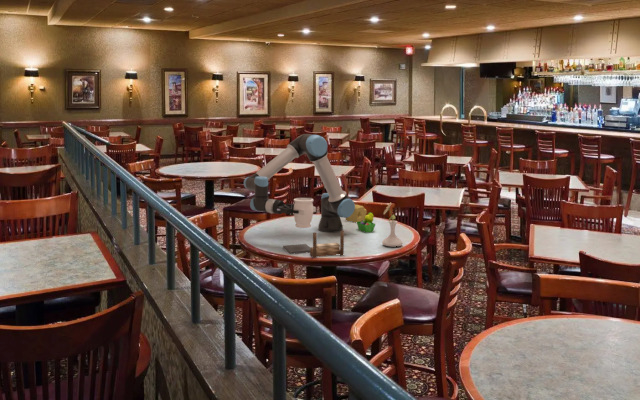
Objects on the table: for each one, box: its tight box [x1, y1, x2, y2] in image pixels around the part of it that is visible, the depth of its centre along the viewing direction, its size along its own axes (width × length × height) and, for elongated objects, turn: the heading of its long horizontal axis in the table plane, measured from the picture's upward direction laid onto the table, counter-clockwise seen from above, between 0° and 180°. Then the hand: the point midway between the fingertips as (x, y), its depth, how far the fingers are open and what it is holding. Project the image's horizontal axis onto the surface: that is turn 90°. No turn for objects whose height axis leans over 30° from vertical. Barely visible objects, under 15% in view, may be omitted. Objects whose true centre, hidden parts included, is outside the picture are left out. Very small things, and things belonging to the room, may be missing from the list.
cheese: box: [345, 204, 368, 223], centre depth 424 cm, size 10×11×10 cm
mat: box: [282, 243, 312, 255], centre depth 347 cm, size 13×14×1 cm
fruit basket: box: [356, 212, 376, 233], centre depth 394 cm, size 11×9×11 cm
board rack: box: [309, 230, 345, 259], centre depth 335 cm, size 17×7×13 cm, turn 109°
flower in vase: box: [381, 202, 403, 248], centre depth 355 cm, size 13×11×25 cm
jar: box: [293, 197, 314, 229], centre depth 344 cm, size 11×10×15 cm
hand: (310, 210), depth 342 cm, fingers closed on jar, 10 cm apart
